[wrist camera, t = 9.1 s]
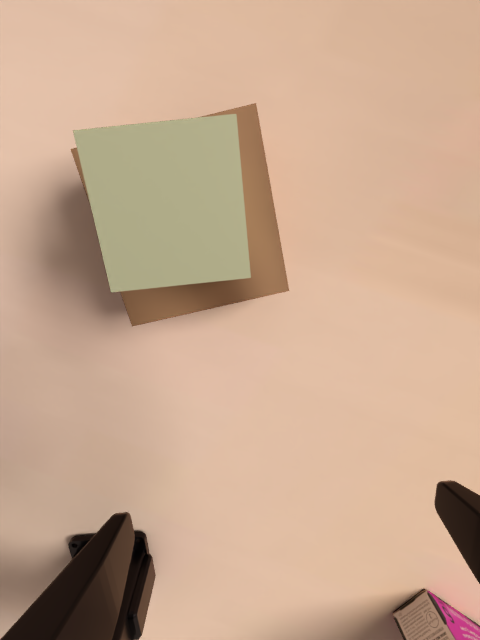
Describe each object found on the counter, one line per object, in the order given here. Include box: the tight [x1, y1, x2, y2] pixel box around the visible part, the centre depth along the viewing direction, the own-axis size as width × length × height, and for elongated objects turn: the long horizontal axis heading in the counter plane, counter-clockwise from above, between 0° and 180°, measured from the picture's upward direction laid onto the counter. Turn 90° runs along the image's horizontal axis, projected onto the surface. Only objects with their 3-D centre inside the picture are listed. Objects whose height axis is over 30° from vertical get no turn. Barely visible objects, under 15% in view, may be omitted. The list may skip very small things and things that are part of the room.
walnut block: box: [71, 103, 289, 326], centre depth 16 cm, size 9×9×4 cm
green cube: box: [73, 114, 251, 292], centre depth 11 cm, size 5×5×5 cm
